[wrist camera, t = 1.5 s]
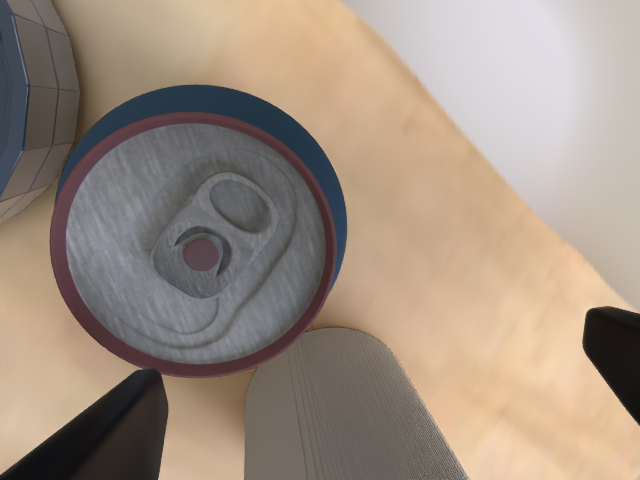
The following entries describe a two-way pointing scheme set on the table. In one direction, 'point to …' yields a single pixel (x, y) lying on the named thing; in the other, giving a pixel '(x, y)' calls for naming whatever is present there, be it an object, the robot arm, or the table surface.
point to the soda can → (197, 231)
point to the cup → (341, 415)
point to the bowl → (34, 101)
